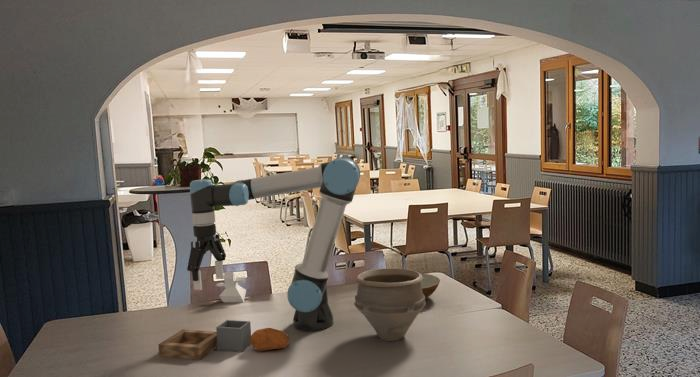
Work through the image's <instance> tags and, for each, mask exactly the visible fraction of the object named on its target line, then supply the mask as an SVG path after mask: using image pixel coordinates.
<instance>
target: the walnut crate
mask: <svg viewBox="0 0 700 377" xmlns="http://www.w3.org/2000/svg"><path fill="white" fill-rule="evenodd" d="M157 345H158V356H159V357H163V358H164V357H166V358H175V359H176V358H178V359H188V360H190V359H191V360H202V359H203V358H204V357H206V356H207V355H208V354H210V353H211V352H213V351H214V350H215V349H216V348H218V345H217V331H211V330H200V329H199V330H195V329H180V331H178V332H176V333H175V334H173V335H172V336H169V337H168V338H166V339H165V340H163V341H161V342H160V343H158V344H157Z"/></svg>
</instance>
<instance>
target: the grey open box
mask: <svg viewBox="0 0 700 377" xmlns="http://www.w3.org/2000/svg"><path fill="white" fill-rule="evenodd" d="M251 328H252V327H251V321H250V320H236V319H235V320H233V319H225V321H223V322H221V323H220V324H219V325H217V326H216V328H215V332H217V345H218V347H217V351H220V352H221V351H223V352H224V351H225V352H233V353H234V352H235V353H243V352H244V351H245V350H247V348H249V347H250V346H252V345H251V343H250V338H251V335H252V332H251V331H252V329H251Z"/></svg>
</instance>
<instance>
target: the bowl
mask: <svg viewBox="0 0 700 377" xmlns="http://www.w3.org/2000/svg"><path fill="white" fill-rule="evenodd" d="M419 273H420V274H421V275H422V276H423V280H422V281H421V287H422V292H423V294H424V295H425V300H427V298H429V297H430V296H432V295H433V293H435V292H436V290H437V289H438V287H439V284H440V282H441V279H440V278H439V277H438V276H435V275H433V274H429V273H424V272H423V273H422V272H419Z"/></svg>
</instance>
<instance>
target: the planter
mask: <svg viewBox="0 0 700 377" xmlns="http://www.w3.org/2000/svg"><path fill="white" fill-rule="evenodd" d="M420 273H421V272H418V271H416V270H412V269H407V268H399V267H398V268H379V269H378V268H377V269H370V270H366V271H362V272H360V273H359V274H357V275H356V277H355V282H356V283H357V291H356V294H355V296H354V300H355V302H354V304H353V305H354V306H355V308H357V310H358V311H359V312H360V313H361V315H363V317H364V318H365V319H366V320H367V321H368V322H369V324H370V325H371V327H372V328H373V329H374V331H375V332H376V334H377V336H378V337H379V338H380V340H383V341H387V342H390V341H391V342H394V341H400V340H401V339H403V338H404V337H406V334H407V332H408V330H409V329H410V327H411V326H412V324H413V323H414V321H415V320H416V318H417V317H418V316H419V314H420V312H421V311H422V310H423V308H425V306H426V305H427V304H426V299H425V295H424V294H423V292H422V287H421V281H422V280H423V276H422V275H421V274H420Z"/></svg>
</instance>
